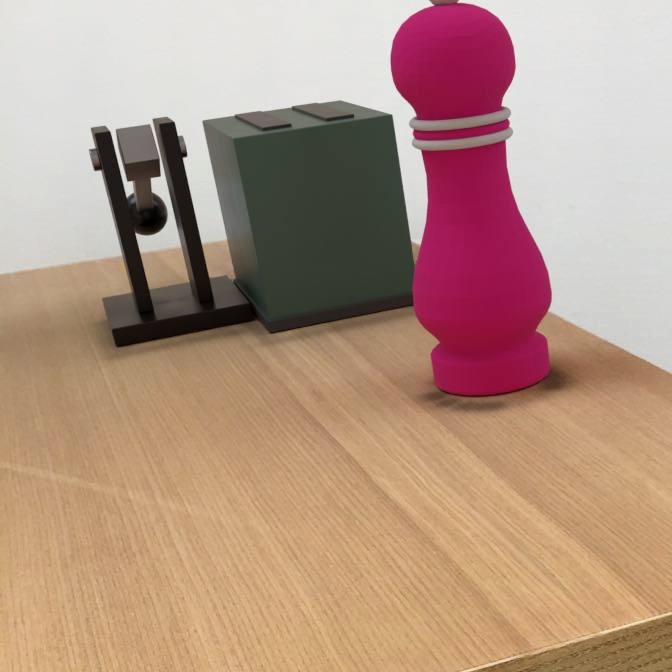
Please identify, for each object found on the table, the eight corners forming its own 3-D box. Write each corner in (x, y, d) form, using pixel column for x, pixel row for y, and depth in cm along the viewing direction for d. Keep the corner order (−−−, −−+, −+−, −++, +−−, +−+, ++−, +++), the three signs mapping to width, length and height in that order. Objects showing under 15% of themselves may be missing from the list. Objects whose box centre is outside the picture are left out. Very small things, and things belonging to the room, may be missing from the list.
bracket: (105, 314, 88) (57, 128, 82) (231, 290, 90) (192, 109, 85) (116, 347, 79) (62, 142, 74) (254, 320, 82) (212, 120, 76)
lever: (129, 245, 91) (118, 204, 91) (173, 238, 92) (162, 197, 92) (118, 171, 78) (105, 124, 78) (169, 163, 79) (156, 116, 79)
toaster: (234, 289, 91) (197, 117, 85) (370, 264, 94) (342, 96, 88) (269, 333, 78) (229, 135, 73) (424, 302, 81) (396, 110, 76)
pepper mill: (398, 391, 65) (331, -21, 56) (479, 350, 70) (430, -33, 62) (507, 406, 61) (453, -34, 52) (585, 362, 66) (548, -46, 58)
